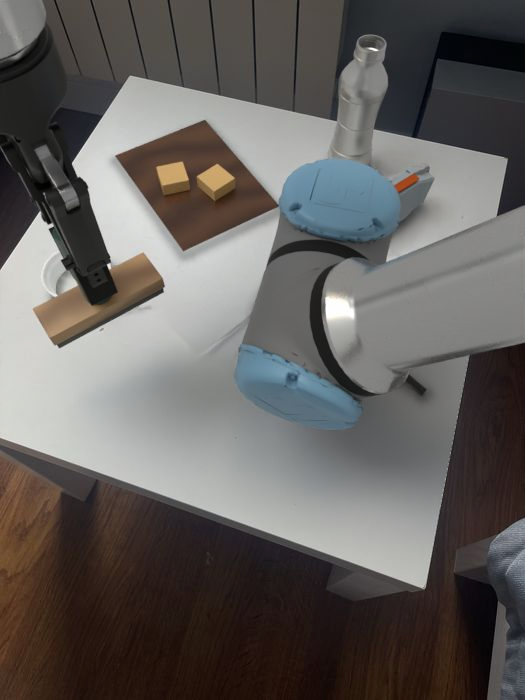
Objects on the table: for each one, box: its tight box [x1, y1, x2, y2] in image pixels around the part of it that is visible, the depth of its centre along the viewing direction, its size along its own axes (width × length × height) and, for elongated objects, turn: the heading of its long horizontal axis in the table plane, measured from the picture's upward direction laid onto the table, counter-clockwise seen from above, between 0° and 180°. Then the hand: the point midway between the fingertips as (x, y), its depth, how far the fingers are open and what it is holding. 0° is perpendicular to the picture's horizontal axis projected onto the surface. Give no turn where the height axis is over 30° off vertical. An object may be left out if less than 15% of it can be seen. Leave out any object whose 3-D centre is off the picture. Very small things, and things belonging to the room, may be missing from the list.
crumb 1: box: [156, 162, 190, 195], centre depth 79 cm, size 4×4×2 cm
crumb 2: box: [197, 164, 235, 201], centre depth 79 cm, size 4×4×2 cm
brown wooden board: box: [114, 119, 279, 252], centre depth 81 cm, size 22×16×1 cm
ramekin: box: [40, 249, 113, 298], centre depth 70 cm, size 9×9×4 cm
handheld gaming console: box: [388, 162, 436, 223], centre depth 75 cm, size 14×3×8 cm, turn 128°
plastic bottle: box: [327, 34, 389, 166], centre depth 75 cm, size 6×7×20 cm
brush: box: [32, 226, 166, 349], centre depth 49 cm, size 4×12×12 cm, turn 125°
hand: (94, 283), depth 51 cm, fingers closed on brush, 3 cm apart
